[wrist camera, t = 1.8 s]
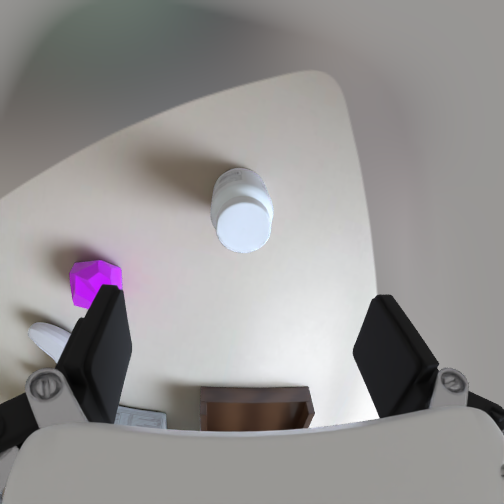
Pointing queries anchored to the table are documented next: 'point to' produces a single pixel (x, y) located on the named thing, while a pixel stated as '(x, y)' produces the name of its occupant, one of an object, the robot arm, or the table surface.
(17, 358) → the table surface
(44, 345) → the game controller
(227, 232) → the pill bottle
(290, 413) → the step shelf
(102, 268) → the crystal
